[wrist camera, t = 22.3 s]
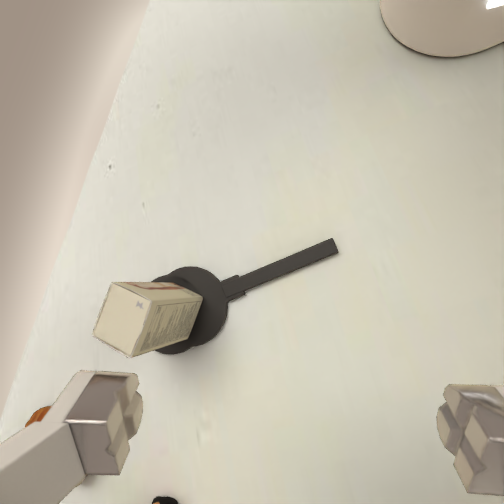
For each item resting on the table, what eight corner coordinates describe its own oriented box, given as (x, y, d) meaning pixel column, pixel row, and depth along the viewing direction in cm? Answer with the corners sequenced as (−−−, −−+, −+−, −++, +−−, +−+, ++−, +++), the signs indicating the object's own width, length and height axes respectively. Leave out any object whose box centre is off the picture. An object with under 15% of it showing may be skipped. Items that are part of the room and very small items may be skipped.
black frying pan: (318, 207, 35) (318, 205, 34) (353, 285, 33) (353, 285, 32) (129, 291, 39) (125, 291, 39) (150, 364, 38) (147, 365, 37)
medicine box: (171, 281, 38) (112, 277, 28) (205, 296, 36) (155, 298, 27) (153, 324, 37) (87, 336, 28) (186, 342, 36) (130, 360, 27)
